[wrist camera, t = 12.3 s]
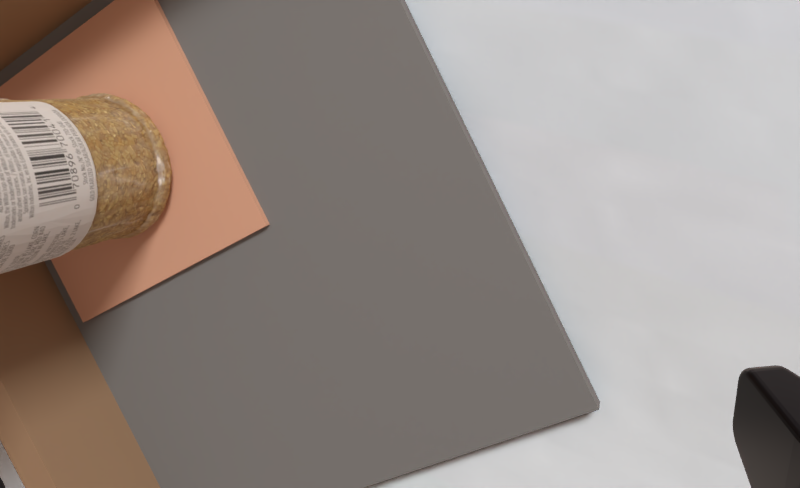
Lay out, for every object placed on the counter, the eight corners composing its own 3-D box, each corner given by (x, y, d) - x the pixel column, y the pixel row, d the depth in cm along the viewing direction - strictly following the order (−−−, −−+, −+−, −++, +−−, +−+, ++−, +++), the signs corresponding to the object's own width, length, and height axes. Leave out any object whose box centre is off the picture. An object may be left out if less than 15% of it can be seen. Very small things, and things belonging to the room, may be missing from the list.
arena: (600, 402, 20) (587, 472, 16) (174, 545, 26) (95, 621, 22) (303, -207, 19) (222, -277, 16) (-63, 85, 25) (-185, 85, 22)
